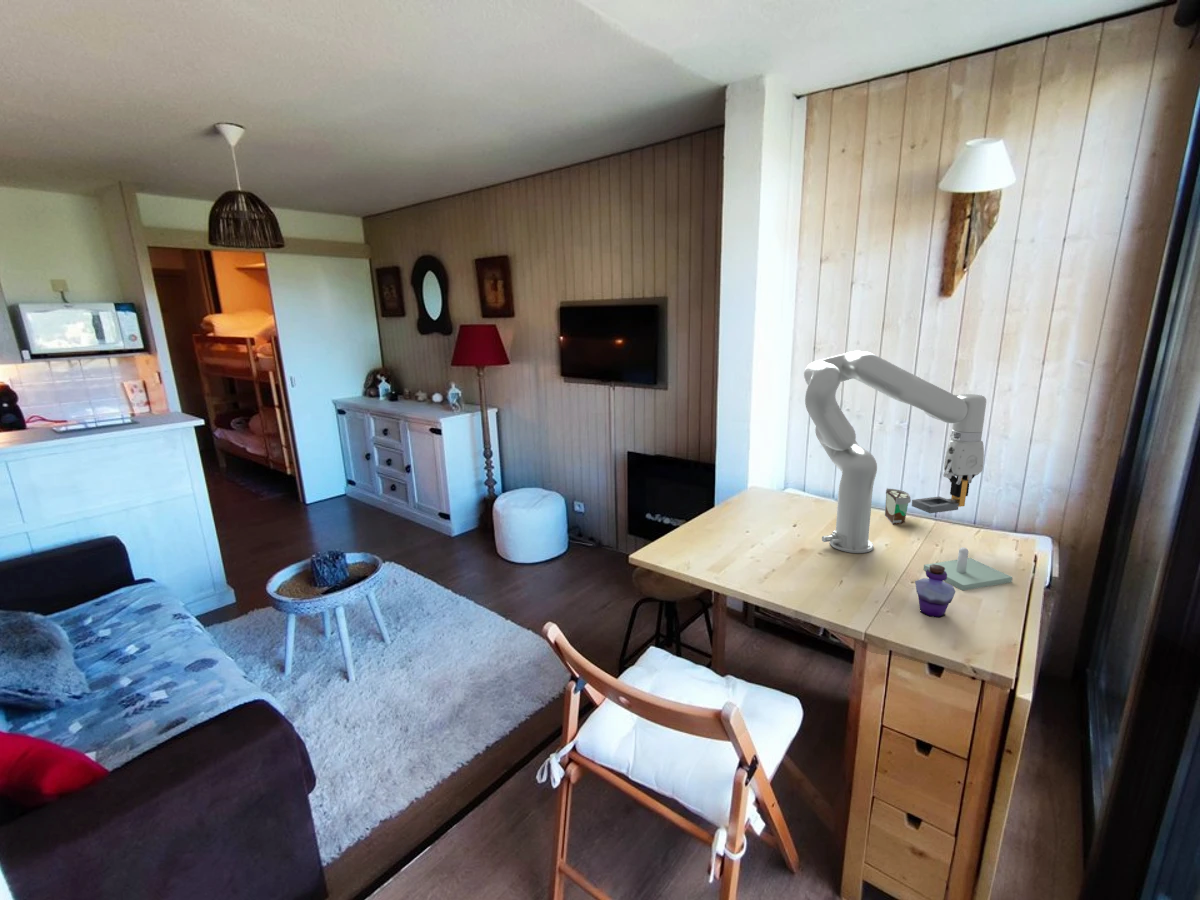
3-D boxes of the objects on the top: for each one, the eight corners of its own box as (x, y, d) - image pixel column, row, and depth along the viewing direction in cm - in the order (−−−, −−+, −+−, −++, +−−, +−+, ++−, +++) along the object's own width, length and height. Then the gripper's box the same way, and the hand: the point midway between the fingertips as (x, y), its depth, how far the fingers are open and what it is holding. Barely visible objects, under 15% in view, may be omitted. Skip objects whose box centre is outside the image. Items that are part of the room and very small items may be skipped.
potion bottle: (937, 602, 138) (943, 558, 136) (960, 620, 130) (967, 573, 127) (904, 603, 138) (909, 559, 136) (925, 621, 130) (930, 575, 127)
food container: (913, 527, 187) (916, 499, 185) (894, 526, 189) (896, 498, 186) (901, 514, 199) (904, 488, 197) (883, 514, 200) (886, 487, 198)
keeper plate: (962, 590, 144) (966, 560, 142) (923, 569, 156) (926, 541, 154) (1011, 582, 147) (1016, 552, 145) (969, 562, 160) (973, 534, 158)
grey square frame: (930, 513, 161) (933, 487, 159) (911, 506, 167) (914, 480, 166) (970, 508, 164) (973, 482, 162) (950, 501, 171) (953, 476, 169)
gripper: (955, 440, 157) (947, 502, 161) (999, 436, 160) (991, 496, 165) (933, 435, 164) (927, 494, 168) (976, 432, 168) (969, 489, 172)
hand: (958, 495), depth 166 cm, fingers closed on grey square frame
